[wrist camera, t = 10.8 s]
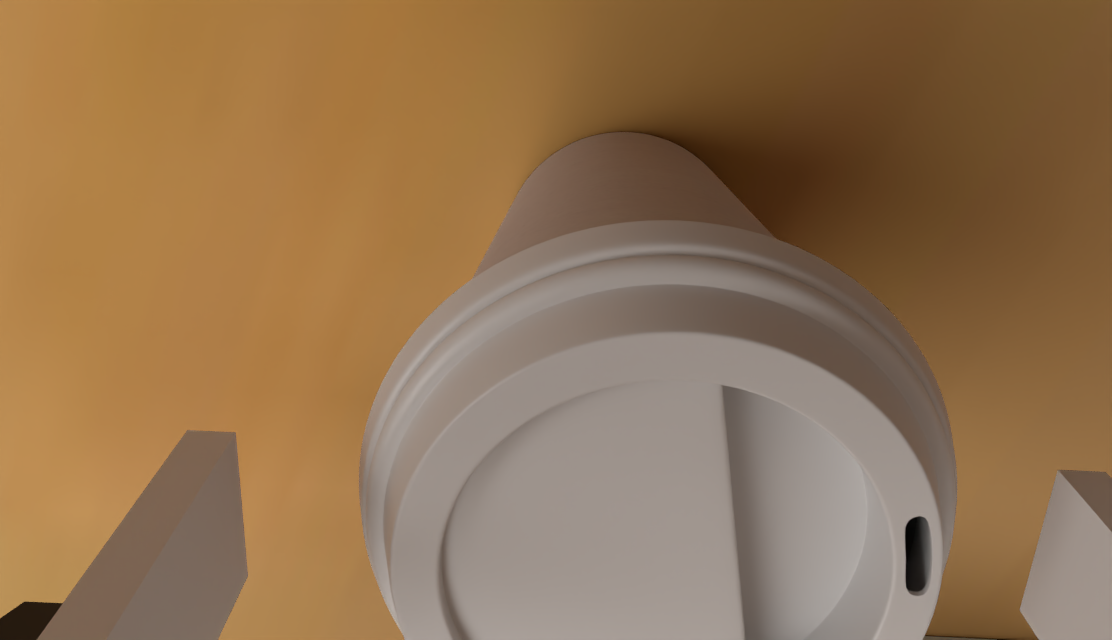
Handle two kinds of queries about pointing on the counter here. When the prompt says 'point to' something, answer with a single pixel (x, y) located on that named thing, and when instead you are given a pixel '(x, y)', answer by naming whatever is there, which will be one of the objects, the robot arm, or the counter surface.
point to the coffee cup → (656, 429)
